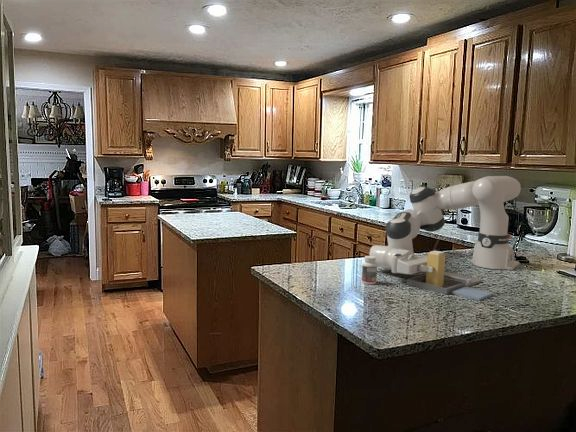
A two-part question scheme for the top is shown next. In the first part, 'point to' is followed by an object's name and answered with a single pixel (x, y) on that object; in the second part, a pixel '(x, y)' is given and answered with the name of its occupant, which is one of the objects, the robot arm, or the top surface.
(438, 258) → the block
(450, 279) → the case
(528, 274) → the top surface
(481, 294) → the mat
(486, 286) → the top surface
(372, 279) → the pill bottle
